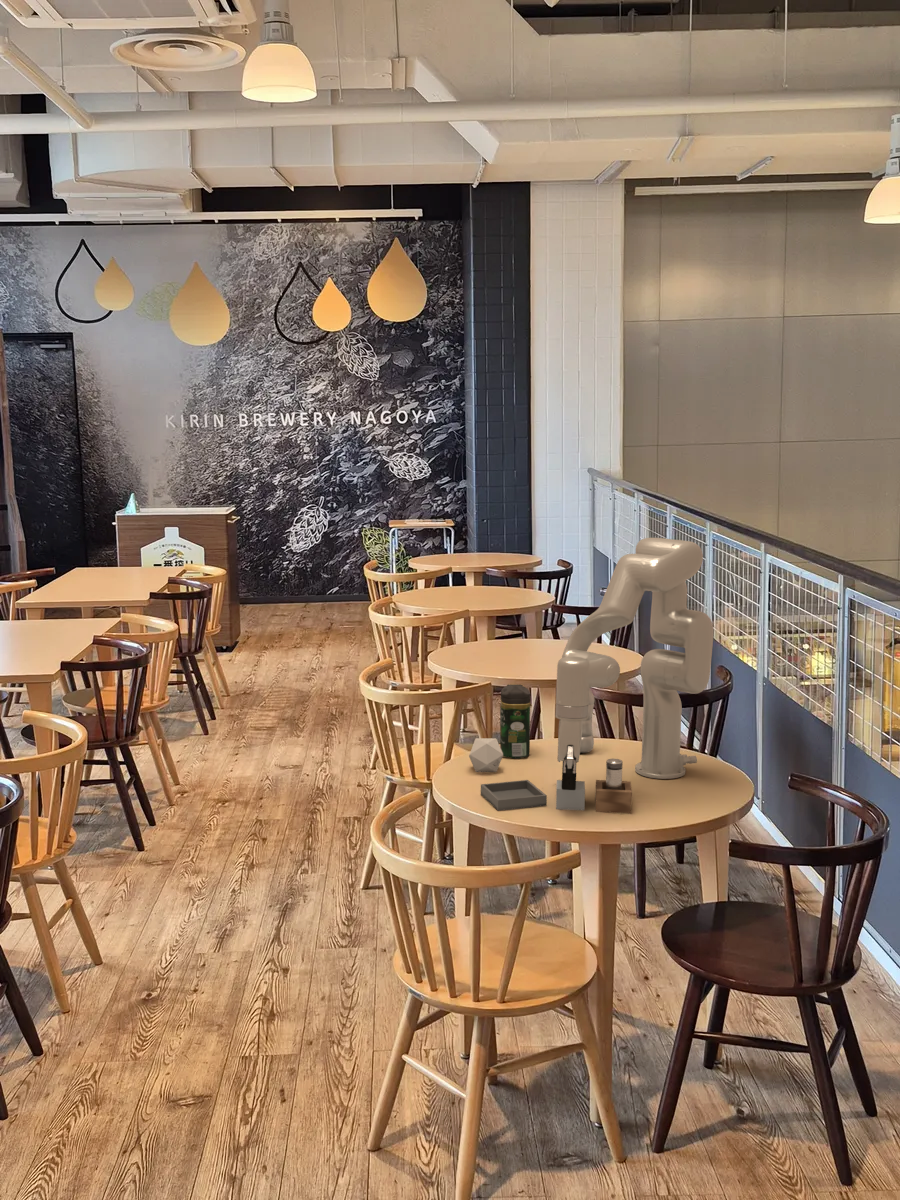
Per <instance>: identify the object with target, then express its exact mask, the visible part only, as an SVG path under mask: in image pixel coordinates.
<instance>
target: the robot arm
mask: <svg viewBox="0 0 900 1200" xmlns="http://www.w3.org/2000/svg"><path fill="white" fill-rule="evenodd" d="M703 560H704V556H703V551H702V548H701V546H699V544H697V543H696V542H694V541H689V540H684V539H672V538H665V537H664V538H663V537H645V538H642V539H640V540H639V541H638V542H637V544H636V546H635V553H628V554H624V555H622V556H621V557H620V558H619V559H618V560H617V562H616V565H615V567H614V569H613V570H614V571H613V573H612V575H611V577H610V581H609V582H608V585H607V587H606V590H605V593H604V595H603V597H602V600H601V603H600V605H599V607H598V608H597V609H596V610H595V611H594V612H592V613H591V614H590V615H588V616H587V617H586V618H584V620H582V621H581V622H580V623H579V624H578V625H577V626H576V627H575V628H574V629H573V630H572V632H571V633H570V635H569V637H568V640H567V643H566V645H565V648H564V650H563V653H562V656H561V657H560V659H559V660H558V662H557V666H556V668H557V669H556V690H555V691H556V692H555V693H556V694H555V710H554V711H555V714H554V718H556V719H558V722H559V723H558V734H557V735H558V738H557V762H558V763H561V762H562V768H561V769H562V771H561V772H562V773H561V780H562V789H563V790H575V789H576V781H577V763H579V760H580V757H581V756H580V754H581V753H580V749H581V739H582V723H583V720H587V719H588V708H589V689H590V690H591V688H600V689H601V688H608V687H611V686H612V685H614V684H615V683H616V682H617V681H618V679H619V677H620V674H621V667H620V664H619V662H618V661H617V660H616V659H615V658H614V657H612V656H609V655H606V654H601V653H596V652H591V651H589V649H590V646H591V645H592V643H593V642H594V641H595V640H597V639H598V638H599V637H601V636H602V635H604V634H606V633H608V632H611V631H614V630H617V629H620V628H623V627H626V626H629V625H630V624H632V623H633V622H634V620H635V617H636V614H637V611H638V609H639V607H640V604H641V600H642V599H643V596H644V594H645V592H646V591H647V592H652V594H651V595H652V598H651V599H652V600H651V609H650V624H649V631H650V637H651V639H652V640H653V641H655V642H656V643H658V644H663V645H666V646H671V647H677V648H684V652H681V651H676V650H670V649H664V648H655V649H651V650H648V651H647V652H646V653H645V654H644V656H643V657H642V658H641V662H640V677H641V681H642V682H641V683H642V689H643V690H642V692H643V694H642V695H643V706H642V707H643V709H642V710H643V711H642V733H641V734H642V735H641V736H642V737H641V761H640V762H638V763H636V764H635V765H634V770H635V772H636V773H637V774H639V775H640V776H643V777H647V778H651V779H659V780H660V779H661V780H670V779H672V780H673V779H678V778H680V777H683V776H685V775H686V768H685V766H686V765H687V764H690V765H691V764H697V762H698V757H697V756H696V755H689V756H688V755H687V754H682V753H681V735H682V734H681V733H682V713H683V712H682V711H683V710H682V709H683V708H682V701H681V698H680V695H679V693H678V692H683V693H688V694H695V695H697V694H700V693H702V692H703V691H704V690H705V689H706V688H707V686H708V684H709V680H710V677H711V667H712V657H713V656H712V655H713V644H714V626H713V625H714V624H713V622H712V619H711V617H710V616H709V615H708V614H706V613H705V612H703V611H700V610H695V609H688V606H687V605H688V601H687V600H688V586H687V583H686V581H687V580H689V579H691V578H692V577H694V576H695V575H696V574H697V573H698V571H699V570H700V568H701V567H702V564H703Z"/></svg>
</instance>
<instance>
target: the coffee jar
mask: <svg viewBox="0 0 900 1200" xmlns="http://www.w3.org/2000/svg"><path fill="white" fill-rule="evenodd" d="M499 707H500V708H499V709H500V710H499V717H500V718H499V734H500V736H499V741H500V743H499V746H500V748H501V750H502V752H503V758H510V759H514V760H515V759H518V760H519V759H521V758H527V757H529V756H530V751H531V750H530V749H531V741H530V739H531V738H530V737H531V736H530V735H531V734H530V733H531V725H530V724H531V693H530V690H529V689H528V688H527V687H526V686H525V685H523V684H506V685H505V686H504V687H502V689H501V690H500V705H499Z"/></svg>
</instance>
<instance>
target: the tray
mask: <svg viewBox="0 0 900 1200" xmlns="http://www.w3.org/2000/svg"><path fill="white" fill-rule="evenodd" d="M480 796H482V797H483V798H484V799H485V800H486V801H487V802H488V803H489V804H490V805H491V806H492V807H494V809H495V810H496V811H498V812H499V811H510V810H520V809H530V808H539V807H546V806H547V803H548V802H547V801H548V799H547V798H548V797H547V796H548V795H547V794H546V793H545V792H543V791H542V790H541V789H540V788H538V787H537V786H536V785H535V784H534V783H533V782H531V781H530V780H528V779H522V780H512V781H511V780H510V781H501V782H492V783H480Z"/></svg>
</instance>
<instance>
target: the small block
mask: <svg viewBox="0 0 900 1200" xmlns="http://www.w3.org/2000/svg"><path fill="white" fill-rule="evenodd" d="M585 782H586V781H584V780H576V789H575V790H563V789H562V779H561V780H559V779H556V788H555V789H556V792H555V793H556V795H555V799H556V800H555V810H565V811H567V810H568V811H585V807H586V806H585V803H586V801H585V800H586V796H585V795H586V783H585Z"/></svg>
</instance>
